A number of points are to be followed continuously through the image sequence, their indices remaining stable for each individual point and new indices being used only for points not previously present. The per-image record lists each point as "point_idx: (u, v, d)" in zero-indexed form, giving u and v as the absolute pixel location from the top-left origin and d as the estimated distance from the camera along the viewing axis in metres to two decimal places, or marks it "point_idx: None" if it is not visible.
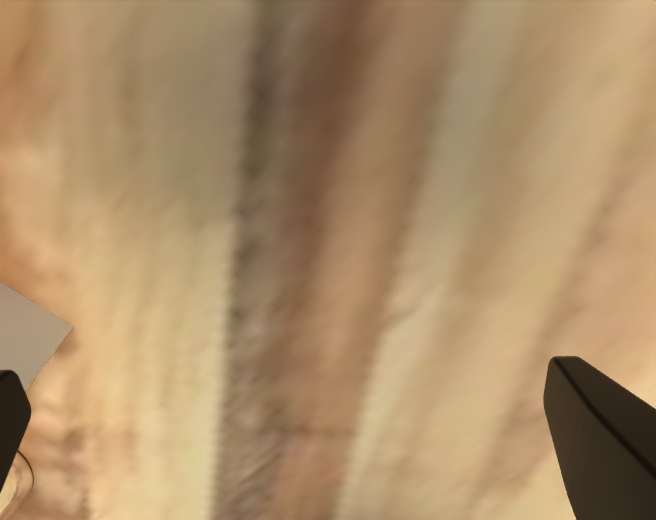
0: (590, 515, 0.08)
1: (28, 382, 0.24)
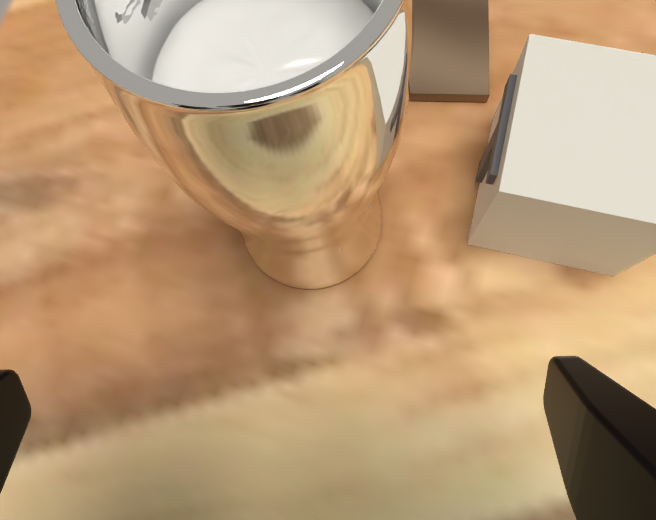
0: (590, 515, 0.08)
1: None
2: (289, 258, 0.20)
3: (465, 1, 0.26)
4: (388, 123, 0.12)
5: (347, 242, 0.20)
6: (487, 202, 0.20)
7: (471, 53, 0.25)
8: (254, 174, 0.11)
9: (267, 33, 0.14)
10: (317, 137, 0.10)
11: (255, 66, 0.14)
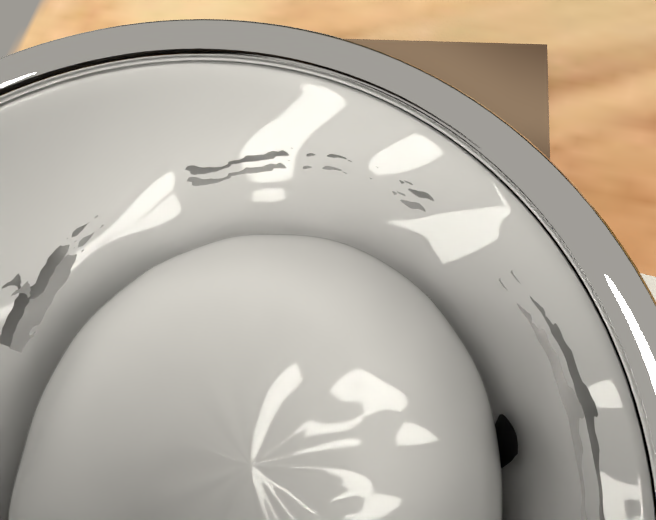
0: None
1: None
2: None
3: None
4: None
5: None
6: None
7: None
8: None
9: (249, 371, 0.07)
10: None
11: (225, 448, 0.07)
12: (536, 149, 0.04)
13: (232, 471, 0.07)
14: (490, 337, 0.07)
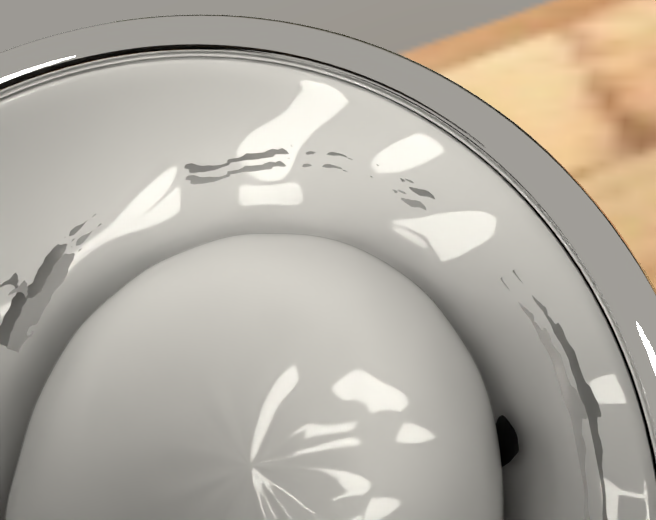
0: None
1: None
2: None
3: None
4: None
5: None
6: None
7: None
8: None
9: (248, 371, 0.07)
10: None
11: (224, 449, 0.07)
12: (539, 146, 0.04)
13: (231, 472, 0.07)
14: (491, 337, 0.07)
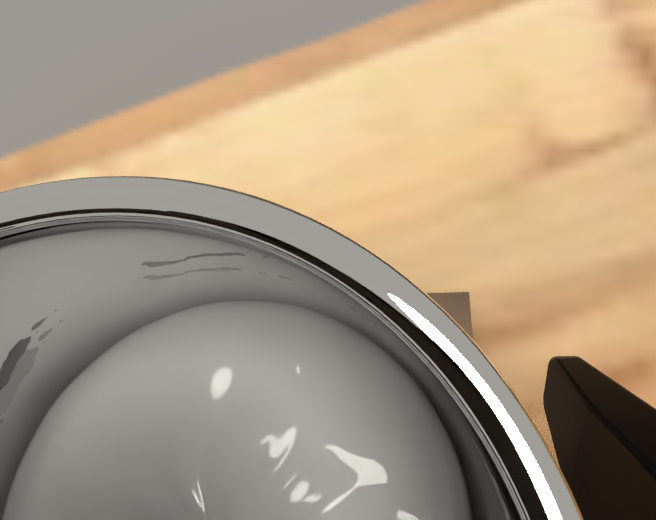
0: (590, 515, 0.08)
1: None
2: None
3: None
4: None
5: None
6: None
7: None
8: None
9: (218, 454, 0.07)
10: None
11: None
12: (468, 344, 0.04)
13: None
14: (460, 430, 0.07)
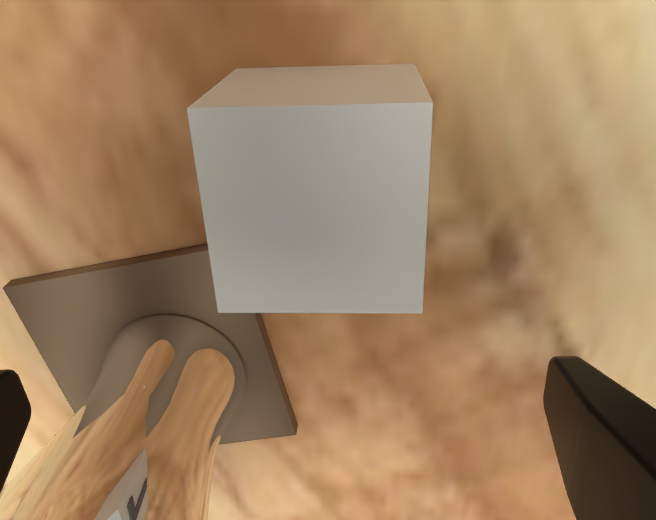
0: (590, 515, 0.08)
1: (424, 87, 0.15)
2: (218, 429, 0.21)
3: (125, 289, 0.23)
4: None
5: (186, 390, 0.20)
6: None
7: (187, 272, 0.22)
8: None
9: None
10: None
11: None
12: None
13: None
14: None
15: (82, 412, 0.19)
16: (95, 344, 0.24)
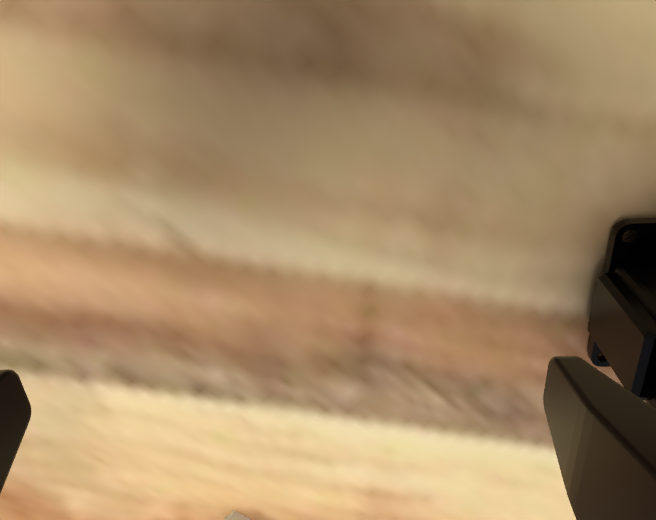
0: (590, 515, 0.08)
1: None
2: None
3: None
4: None
5: None
6: None
7: None
8: None
9: None
10: None
11: None
12: None
13: None
14: None
15: None
16: None
